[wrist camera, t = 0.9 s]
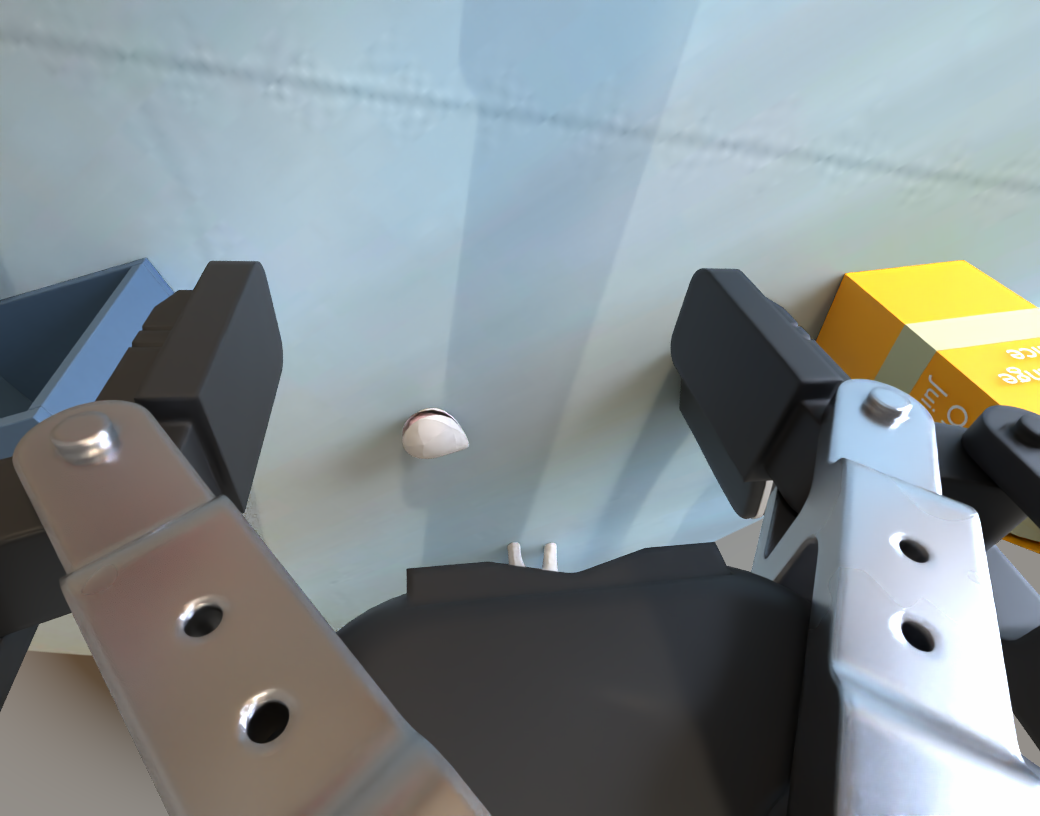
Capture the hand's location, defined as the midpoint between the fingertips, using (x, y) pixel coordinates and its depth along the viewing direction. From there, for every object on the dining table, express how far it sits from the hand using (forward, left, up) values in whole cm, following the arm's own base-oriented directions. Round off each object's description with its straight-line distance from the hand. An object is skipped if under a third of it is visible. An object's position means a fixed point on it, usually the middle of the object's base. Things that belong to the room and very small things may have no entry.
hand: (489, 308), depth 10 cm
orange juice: (+22, +26, -20) cm, 39 cm away
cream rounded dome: (+21, -7, -20) cm, 30 cm away
